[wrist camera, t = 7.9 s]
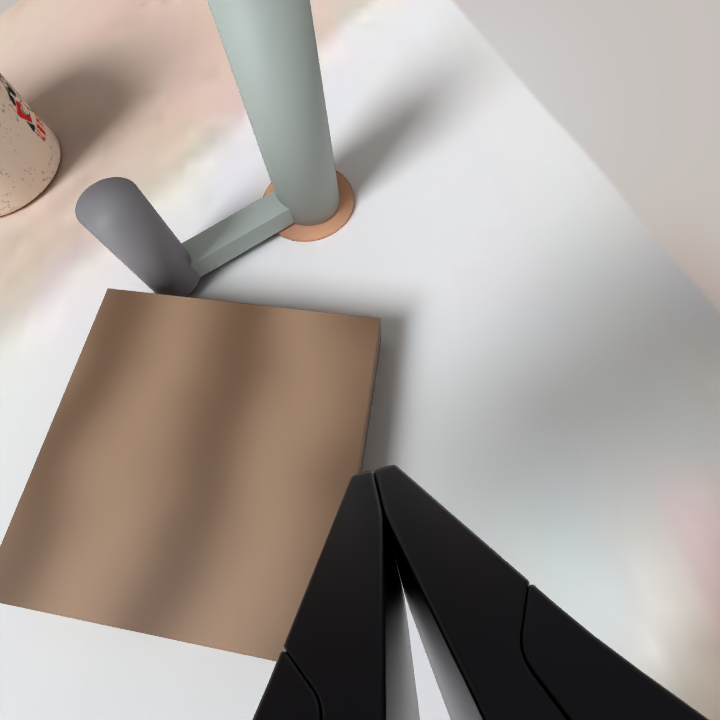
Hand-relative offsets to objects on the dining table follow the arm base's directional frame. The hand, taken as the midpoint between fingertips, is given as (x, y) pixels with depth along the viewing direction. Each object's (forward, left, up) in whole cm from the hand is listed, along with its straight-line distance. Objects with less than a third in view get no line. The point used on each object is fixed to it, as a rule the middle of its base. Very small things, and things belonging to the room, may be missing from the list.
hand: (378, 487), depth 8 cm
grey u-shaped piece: (+11, +12, -11) cm, 20 cm away
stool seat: (+5, +9, -12) cm, 16 cm away
